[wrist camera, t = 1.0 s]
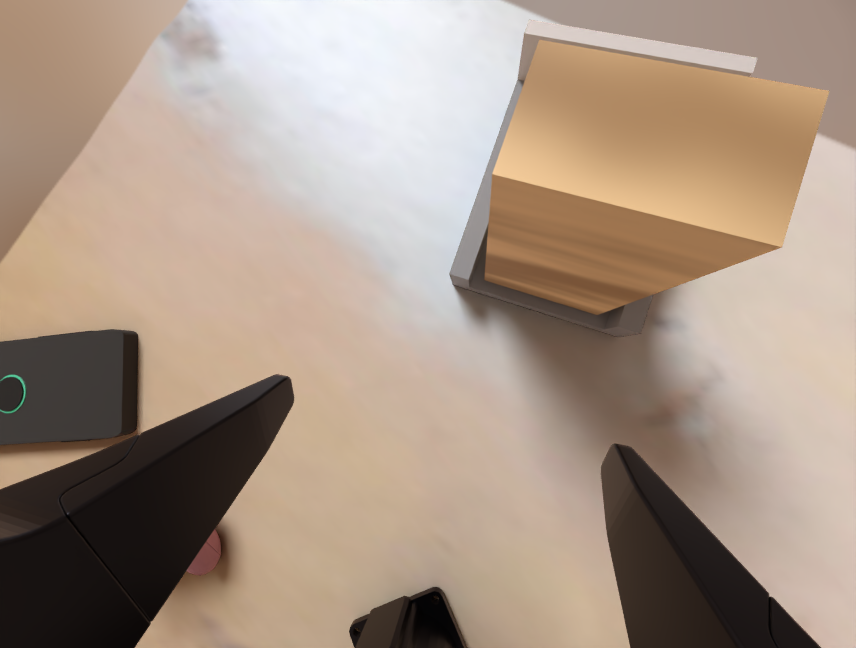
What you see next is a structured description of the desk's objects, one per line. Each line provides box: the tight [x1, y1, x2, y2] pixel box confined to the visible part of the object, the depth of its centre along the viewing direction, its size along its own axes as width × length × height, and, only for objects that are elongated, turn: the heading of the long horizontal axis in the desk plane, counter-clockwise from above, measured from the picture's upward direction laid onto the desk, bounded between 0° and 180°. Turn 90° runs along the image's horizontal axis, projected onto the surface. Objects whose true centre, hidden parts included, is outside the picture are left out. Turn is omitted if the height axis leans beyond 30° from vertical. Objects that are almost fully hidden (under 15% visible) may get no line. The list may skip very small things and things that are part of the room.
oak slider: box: [484, 40, 829, 315], centre depth 15 cm, size 4×7×12 cm, turn 70°
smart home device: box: [0, 329, 138, 445], centre depth 27 cm, size 8×2×20 cm
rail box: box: [449, 20, 757, 337], centre depth 20 cm, size 14×11×6 cm
